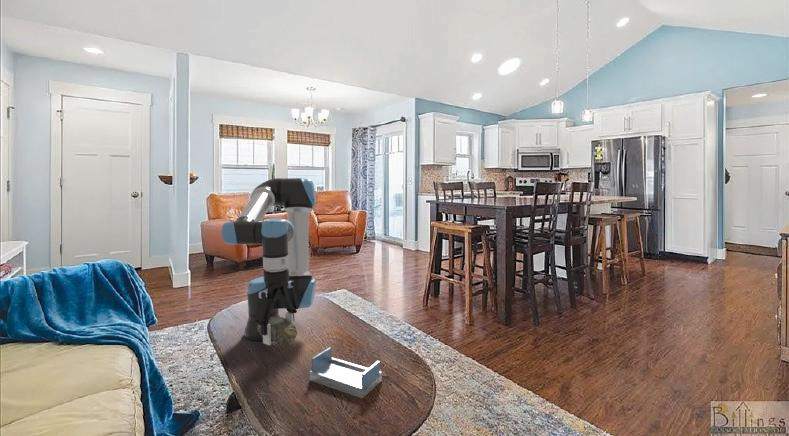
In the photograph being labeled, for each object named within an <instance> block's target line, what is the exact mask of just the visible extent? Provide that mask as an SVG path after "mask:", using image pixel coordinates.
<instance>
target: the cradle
mask: <svg viewBox="0 0 789 436" xmlns="http://www.w3.org/2000/svg"><path fill="white" fill-rule="evenodd" d="M382 377H383V376H382V371H381V361H380V360H376V361H375V362H374V363H373V364H372V365H371V366H369V367H366V366H362V365H359V364H356V363H352V362H350V361H349V362H348V361H346V360H343V359H339V358H335V357H333V356H332V347H330V346H329V347H328V348H326V349H324V350H323V351H321V352H319V353H317V354H316V355H315V356H313V357H311V370H310V371H309V381H311V382H313V383H316V384H319V385H321V386H325V387H327V388H330V389H333V390H336V391H338V392H339V391H340V392H341V393H345V394H348V395H350V396H353V397H357V398H360V399H364V397H366V395H368V394H369V393H370V392H372V390H373V389H374V388H376V387H377V386H378V385H379V384H380V383H381V382H382V380H383V379H382Z"/></svg>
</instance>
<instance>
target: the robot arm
mask: <svg viewBox="0 0 789 436" xmlns="http://www.w3.org/2000/svg"><path fill="white" fill-rule="evenodd" d="M316 196H317V195H316V190H315V185H314V182H313V180H312V179H311V178H304V177H303V178H302V177H300V178H299V177H298V178H297V177H296V178H295V177H293V178H292V177H289V178H288V177H287V178H286V177H285V178H282V177H281V178H279V177H277V178H271V179H268V180H266V181H264V182H262V183H261V184H259V185H257V186H256V187H255V188H254V189H253V191H252V192H251V194H250V200H249V201H248V202H247V204H246V205H245V207H244V208H243V209H242V211H241V213H240V214H239V215H238V217H237V218H236V220H235V221H232V220H231V221H225V222H224V223H223V225H222V227H221V239H222V241H223V243H224V244H226V245H236V246H237V245H238V246H239V245H262V266H263V269H264V270H263V276H261V277H256V278H254V279H252V280H250V281H249V282H248V284H247V292H246V293H247V308H248V309H247V310H248V317H247V322H246V326H245V329H244V337H245V339H246V340H249V341H253V342H254V341H256V342H261V341H262V344H264V345H267V346H271V345H272V340H271V326H270V324H268V322H269V319H270V317H281V316H280V314H279V309H280V310H283V309H285V310H286V311H287V312H284V313H285V314H284V315H285V317H284V318H285V319H286V320H287V321H288V322H290V323H293V324H294V321H295V314H297V312H298V311H297V310H300V309H307V308H310V307H312V306H313V303H314V300H315V299H314V298H315V295H316V286H317V285H316V284H317V283H316V282H317V280H316V279H315V278H313V274H312V272H310V271H309V243H310V242H309V235H310V234H309V230H310V229H309V227H310V222H309V217H310V216H309V214H311V212H313V207H315V206H317V197H316ZM275 206H276V207H278V206H279V207H283V210H284V212H286V213H287V219H284V218H280V217H279V218H268V219H267V218H266V219H264V217H265V216H266V214H267V212H268V210H269V209H271V208H272V207H275ZM263 219H264V220H263ZM264 320H265V321H264ZM258 325H261V334H262V335H263V338H262V336H261V335H260V333H259V332H258V331H257V326H258Z"/></svg>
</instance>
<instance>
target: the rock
mask: <svg viewBox="0 0 789 436" xmlns="http://www.w3.org/2000/svg"><path fill="white" fill-rule="evenodd" d="M264 321H265V320H264ZM268 324H270V326H271V341H274V342H276V343H277V344H279V345H281V346H287V345H290V344H293V343H294V342H295V340H296V338H297V336H298V330H297V327H296V325H295V324H294V322H293V323H290V322H288V321H287V320H286V318H285V317H282V316H280V317H270V319H269V322H268ZM257 331H258V332H259V333H260V335H261V336H262V338H263V335H262V334H261V325H258V326H257Z"/></svg>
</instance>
